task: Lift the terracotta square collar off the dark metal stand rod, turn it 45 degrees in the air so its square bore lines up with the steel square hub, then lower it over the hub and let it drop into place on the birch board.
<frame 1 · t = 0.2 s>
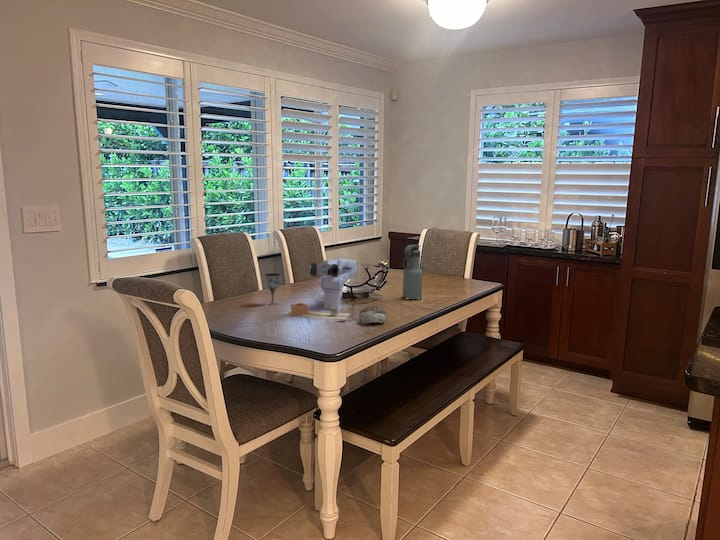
hand: (319, 272, 232), 21 cm above the table, tool horizontal, fingers open, 7 cm apart
water bottle: (411, 298, 282), on the table
wine glass: (272, 305, 262), on the table
board: (316, 317, 240), on the table
grey rounded lump: (373, 323, 233), on the table
collar: (299, 313, 241), point 1 cm above the table, touching board
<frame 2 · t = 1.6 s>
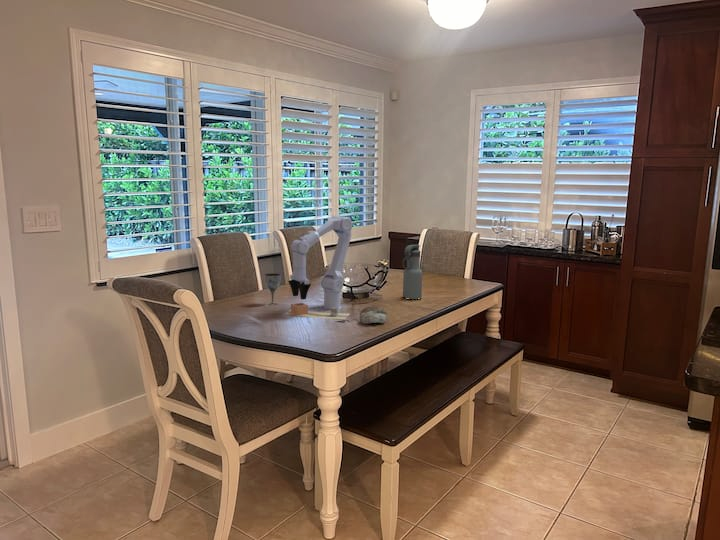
hand: (299, 297, 240), 8 cm above the table, tool pointing down, fingers open, 7 cm apart
nothing on the table moved.
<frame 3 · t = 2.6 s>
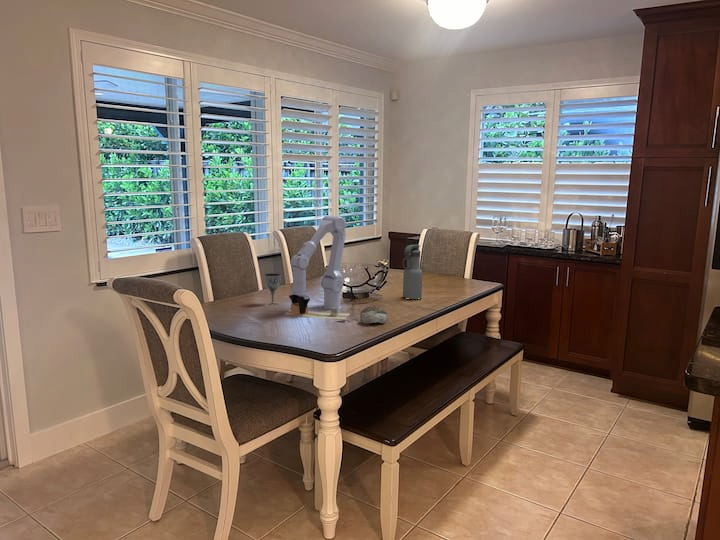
hand: (299, 311, 241), 2 cm above the table, tool pointing down, fingers closed on collar, 6 cm apart
collar: (299, 313, 241), point 1 cm above the table, touching board, gripper
everything else where it was.
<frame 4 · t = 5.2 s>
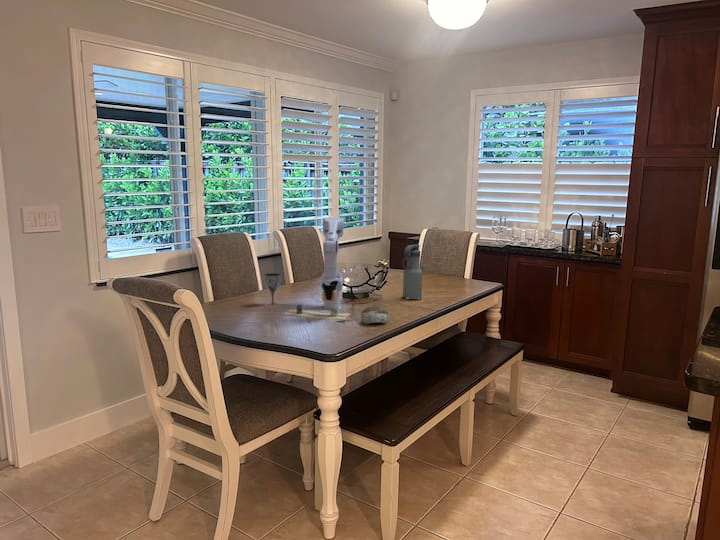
hand: (330, 298, 237), 9 cm above the table, tool pointing down, fingers closed on collar, 6 cm apart
collar: (329, 299, 238), point 8 cm above the table, touching gripper
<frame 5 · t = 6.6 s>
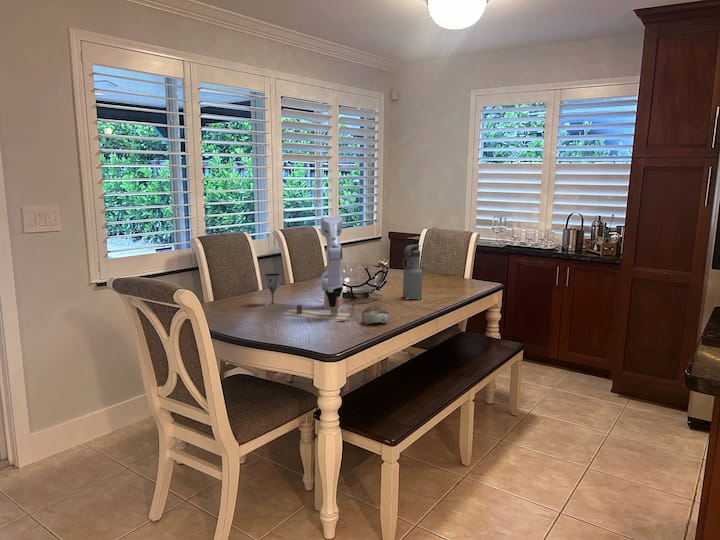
hand: (334, 305, 238), 6 cm above the table, tool pointing down, fingers closed on collar, 6 cm apart
collar: (333, 306, 238), point 5 cm above the table, touching gripper
when the fingers open (3 cm above the table, at t = 7.7 s): collar drops 2 cm, resting on board.
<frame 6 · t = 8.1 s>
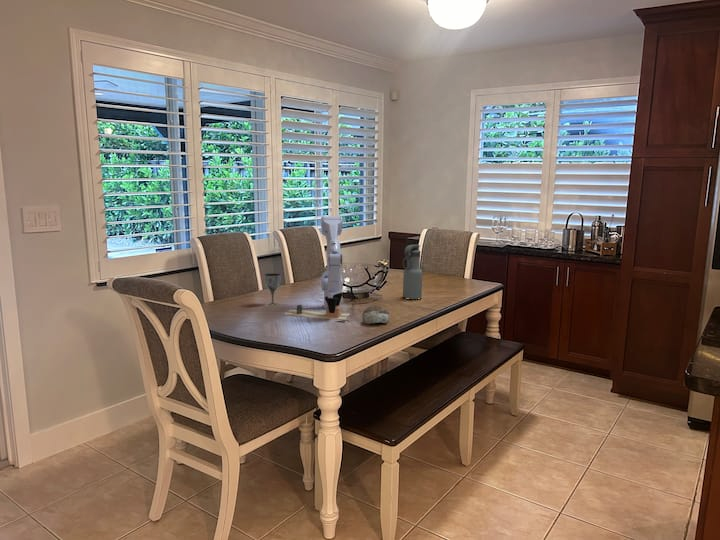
hand: (334, 310, 238), 3 cm above the table, tool pointing down, fingers open, 7 cm apart
collar: (333, 315, 238), point 1 cm above the table, touching board
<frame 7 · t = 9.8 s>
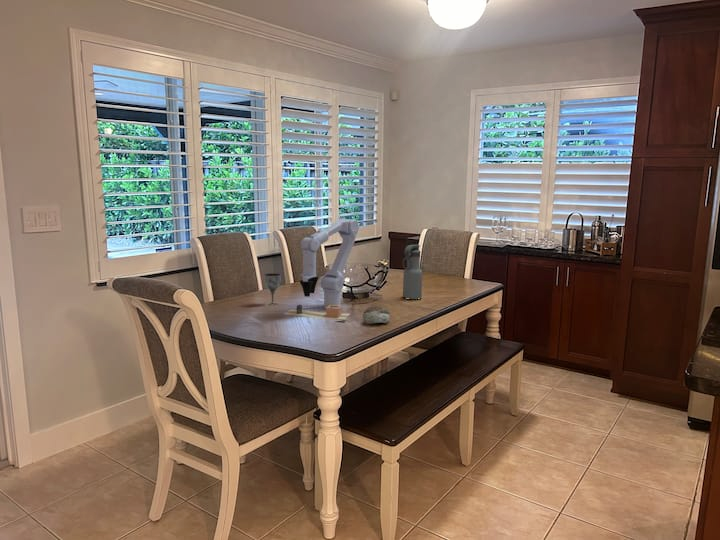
hand: (309, 294, 242), 9 cm above the table, tool pointing down, fingers open, 7 cm apart
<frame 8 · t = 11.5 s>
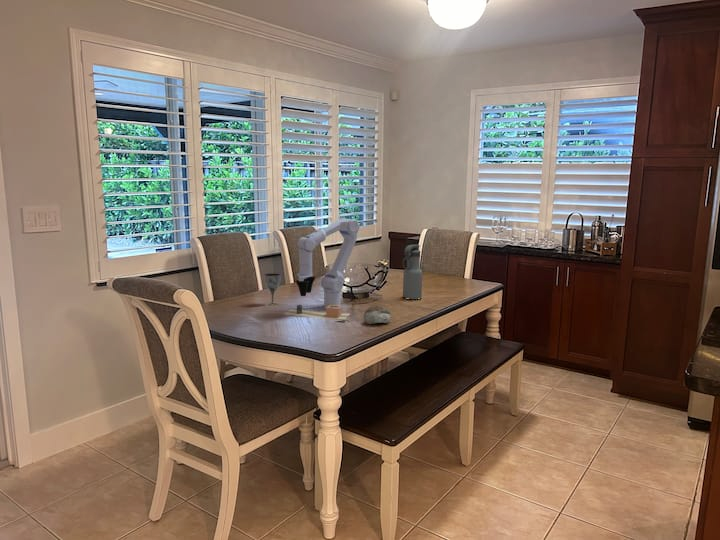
hand: (305, 294, 243), 9 cm above the table, tool pointing down, fingers open, 7 cm apart
at the end: collar 0.1 cm from the target spot on the board, point 1.2 cm above the board's base; collar tilted 0°; the gripper is holding nothing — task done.
